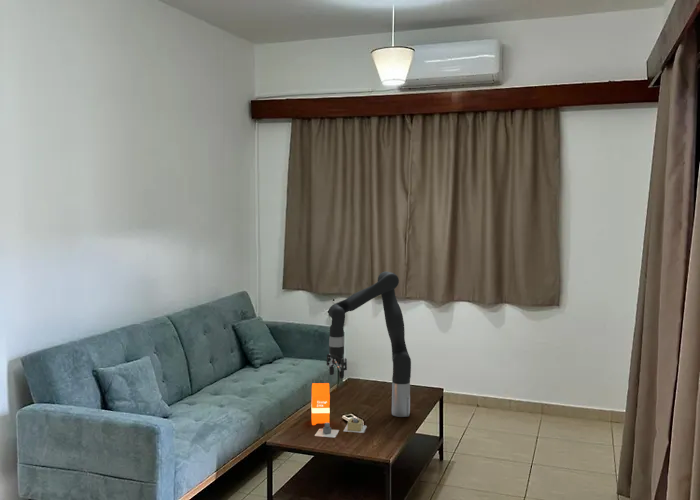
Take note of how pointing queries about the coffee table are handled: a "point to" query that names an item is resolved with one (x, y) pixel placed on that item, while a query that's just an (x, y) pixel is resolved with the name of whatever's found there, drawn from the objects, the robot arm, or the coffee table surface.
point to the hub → (327, 431)
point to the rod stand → (355, 431)
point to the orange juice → (320, 403)
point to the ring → (355, 425)
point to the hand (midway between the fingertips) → (336, 376)
